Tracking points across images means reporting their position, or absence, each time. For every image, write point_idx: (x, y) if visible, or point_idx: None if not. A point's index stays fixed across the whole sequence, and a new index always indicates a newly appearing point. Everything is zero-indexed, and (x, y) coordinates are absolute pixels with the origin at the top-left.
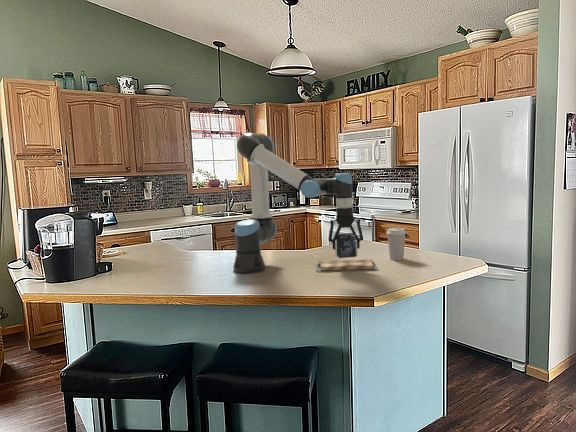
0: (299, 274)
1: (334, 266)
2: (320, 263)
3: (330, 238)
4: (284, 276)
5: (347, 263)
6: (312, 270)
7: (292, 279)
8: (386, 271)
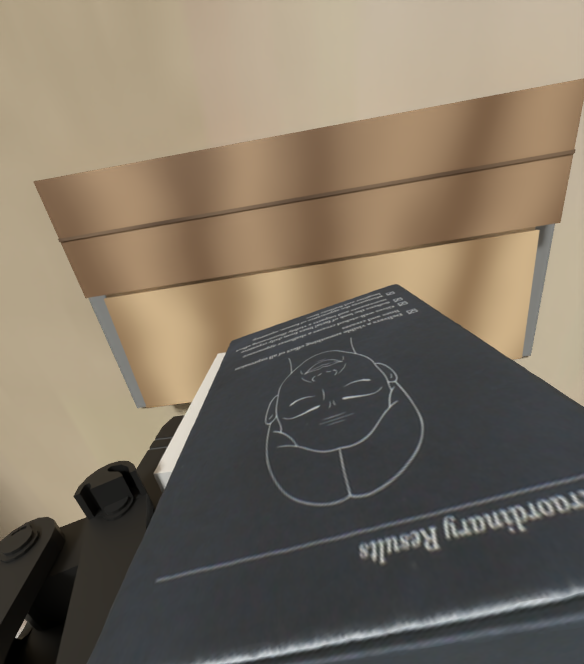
0: (63, 448)
1: None
2: (99, 285)
3: (57, 655)
4: (6, 481)
5: (326, 283)
6: (97, 366)
7: (76, 519)
8: (567, 375)
